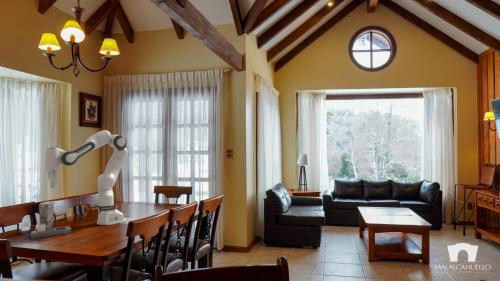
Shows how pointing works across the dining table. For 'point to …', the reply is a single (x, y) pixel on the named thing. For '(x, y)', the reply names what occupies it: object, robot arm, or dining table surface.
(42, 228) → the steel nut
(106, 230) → the dining table surface
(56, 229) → the grey flat slab
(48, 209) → the stone block
